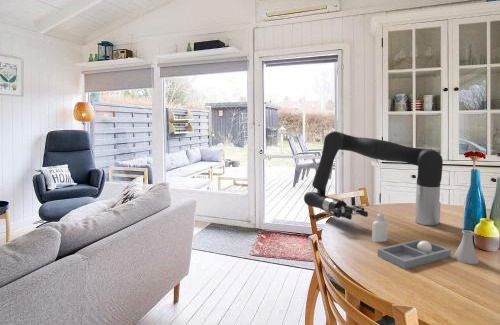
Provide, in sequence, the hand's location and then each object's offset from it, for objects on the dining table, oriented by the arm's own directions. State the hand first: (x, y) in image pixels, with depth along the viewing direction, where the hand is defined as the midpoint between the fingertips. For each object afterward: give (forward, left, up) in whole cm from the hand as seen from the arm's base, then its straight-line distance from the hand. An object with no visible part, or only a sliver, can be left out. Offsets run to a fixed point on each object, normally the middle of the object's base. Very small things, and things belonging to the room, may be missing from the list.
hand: (359, 215), depth 129 cm
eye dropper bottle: (0, +11, -7) cm, 14 cm away
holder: (+1, +27, -7) cm, 28 cm away
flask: (-12, +36, -7) cm, 39 cm away
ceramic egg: (-4, +27, -7) cm, 28 cm away
